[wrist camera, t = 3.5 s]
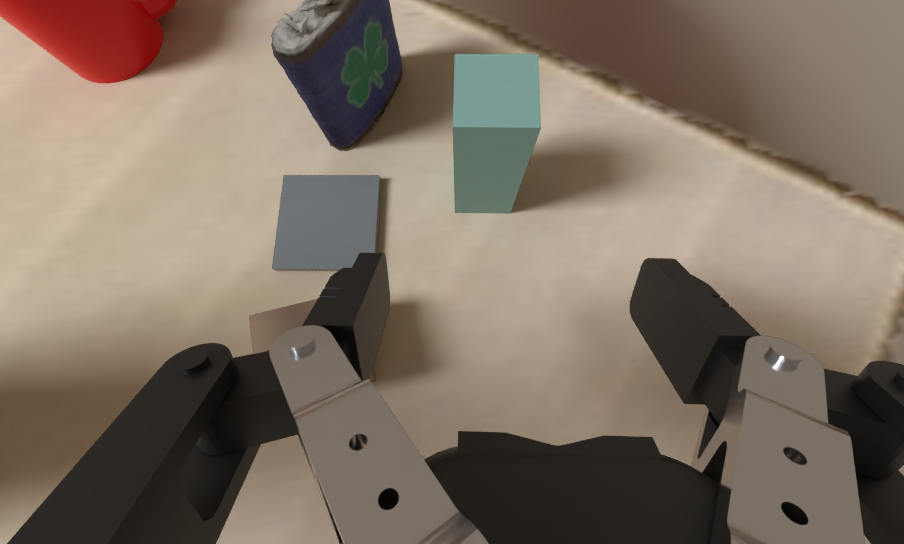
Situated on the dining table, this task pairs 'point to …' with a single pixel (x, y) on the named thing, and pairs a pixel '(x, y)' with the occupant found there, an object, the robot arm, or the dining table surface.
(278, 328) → the walnut block
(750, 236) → the dining table surface
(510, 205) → the teal post
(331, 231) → the slate coaster
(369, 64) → the flask
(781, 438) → the robot arm
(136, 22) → the mug
